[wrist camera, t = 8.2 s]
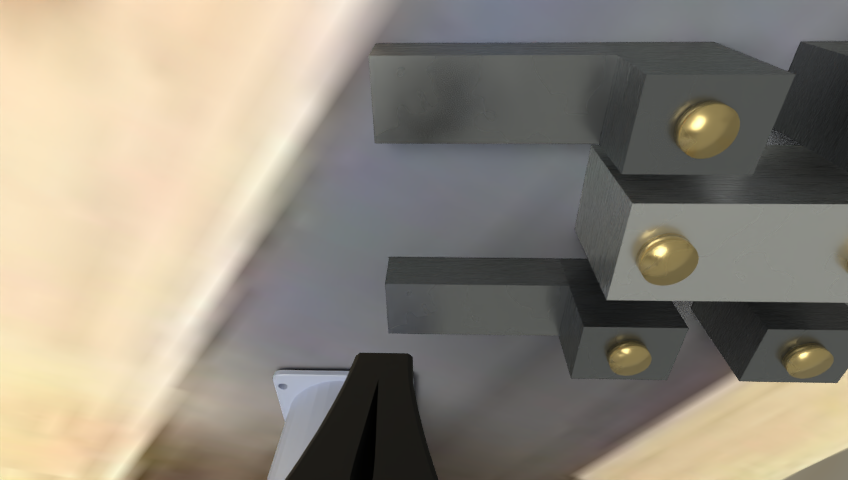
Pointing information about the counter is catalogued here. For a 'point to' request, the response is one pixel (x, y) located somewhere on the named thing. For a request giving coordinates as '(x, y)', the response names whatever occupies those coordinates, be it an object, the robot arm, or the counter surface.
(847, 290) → the block with brass knobs
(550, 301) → the chain end
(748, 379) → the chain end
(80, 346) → the counter surface
